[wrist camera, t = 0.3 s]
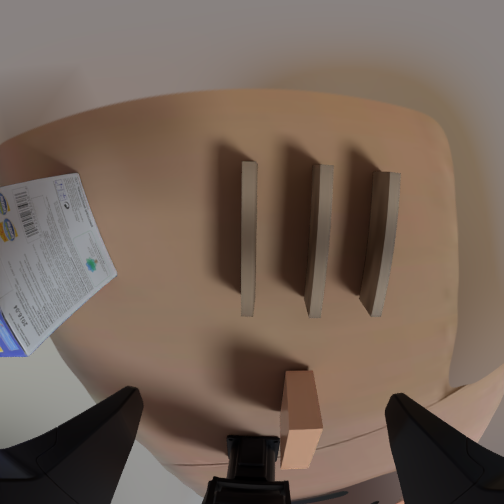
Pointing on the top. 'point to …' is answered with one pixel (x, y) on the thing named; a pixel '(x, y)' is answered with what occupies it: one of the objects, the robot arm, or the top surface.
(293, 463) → the terracotta block
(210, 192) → the top surface
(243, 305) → the slot rack
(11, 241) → the ink cartridge box
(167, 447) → the top surface
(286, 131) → the top surface
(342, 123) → the top surface
